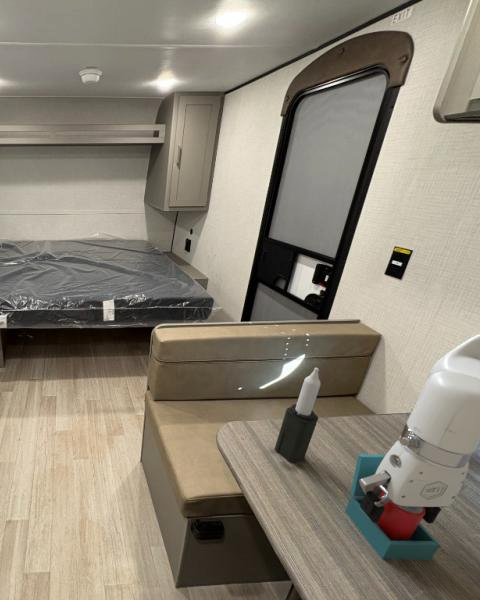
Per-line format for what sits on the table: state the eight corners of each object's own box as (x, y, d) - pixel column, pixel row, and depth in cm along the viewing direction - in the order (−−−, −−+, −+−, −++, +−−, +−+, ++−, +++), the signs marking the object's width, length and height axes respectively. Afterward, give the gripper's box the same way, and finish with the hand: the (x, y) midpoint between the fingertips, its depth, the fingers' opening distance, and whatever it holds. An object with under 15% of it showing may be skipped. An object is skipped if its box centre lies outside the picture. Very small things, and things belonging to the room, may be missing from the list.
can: (393, 522, 62) (411, 489, 58) (413, 553, 57) (434, 519, 53) (359, 515, 63) (375, 482, 60) (376, 545, 58) (395, 511, 55)
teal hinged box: (429, 561, 56) (440, 544, 54) (381, 560, 56) (390, 544, 54) (386, 513, 64) (395, 497, 62) (343, 512, 64) (351, 496, 62)
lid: (407, 457, 60) (403, 454, 61) (361, 457, 60) (358, 454, 61) (397, 497, 62) (393, 494, 62) (353, 496, 62) (350, 493, 63)
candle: (271, 450, 78) (297, 364, 69) (285, 444, 80) (312, 359, 71) (291, 466, 74) (321, 377, 65) (305, 459, 76) (337, 371, 67)
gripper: (402, 463, 48) (364, 536, 54) (516, 464, 48) (465, 537, 54) (361, 426, 55) (332, 495, 61) (461, 427, 55) (421, 496, 61)
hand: (394, 515), depth 58 cm, fingers open, 9 cm apart
